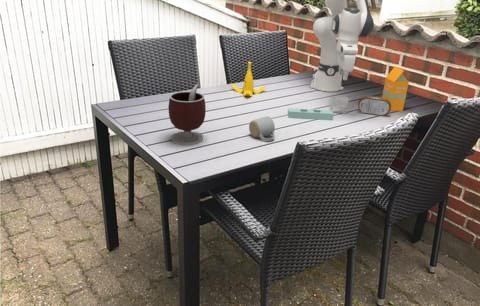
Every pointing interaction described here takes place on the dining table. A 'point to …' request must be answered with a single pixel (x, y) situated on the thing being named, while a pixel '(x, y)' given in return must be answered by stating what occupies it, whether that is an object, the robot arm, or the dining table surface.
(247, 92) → the banana peel
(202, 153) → the dining table surface
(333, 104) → the white block
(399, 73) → the orange juice
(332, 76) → the robot arm
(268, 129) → the ceramic mug
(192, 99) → the mate gourd
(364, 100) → the tin
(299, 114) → the rail
